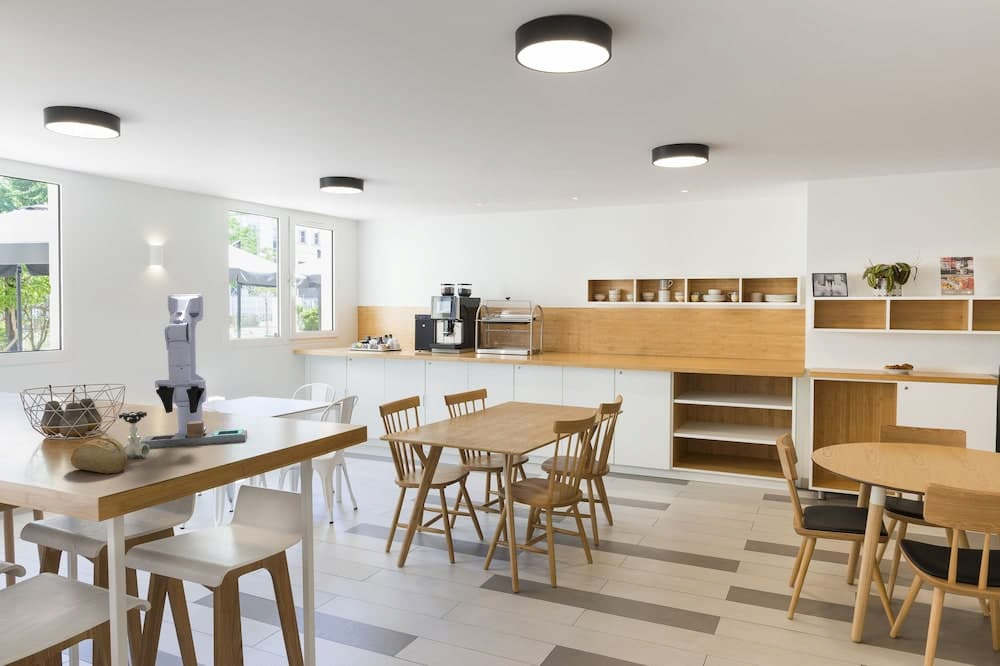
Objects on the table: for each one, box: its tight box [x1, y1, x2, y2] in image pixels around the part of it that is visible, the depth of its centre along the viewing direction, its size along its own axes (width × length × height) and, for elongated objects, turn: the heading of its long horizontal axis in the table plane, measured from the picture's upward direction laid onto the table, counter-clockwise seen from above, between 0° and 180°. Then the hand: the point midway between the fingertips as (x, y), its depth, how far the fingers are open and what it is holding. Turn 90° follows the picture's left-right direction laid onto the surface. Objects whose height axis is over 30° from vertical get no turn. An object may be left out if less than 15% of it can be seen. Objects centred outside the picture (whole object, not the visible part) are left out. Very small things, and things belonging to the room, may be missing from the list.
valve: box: [118, 410, 151, 459], centre depth 184 cm, size 7×7×12 cm
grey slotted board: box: [140, 428, 248, 449], centre depth 203 cm, size 8×28×2 cm, turn 106°
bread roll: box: [70, 437, 128, 475], centre depth 171 cm, size 10×15×8 cm, turn 71°
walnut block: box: [187, 420, 205, 438], centre depth 203 cm, size 4×4×6 cm
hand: (181, 412), depth 197 cm, fingers open, 7 cm apart
